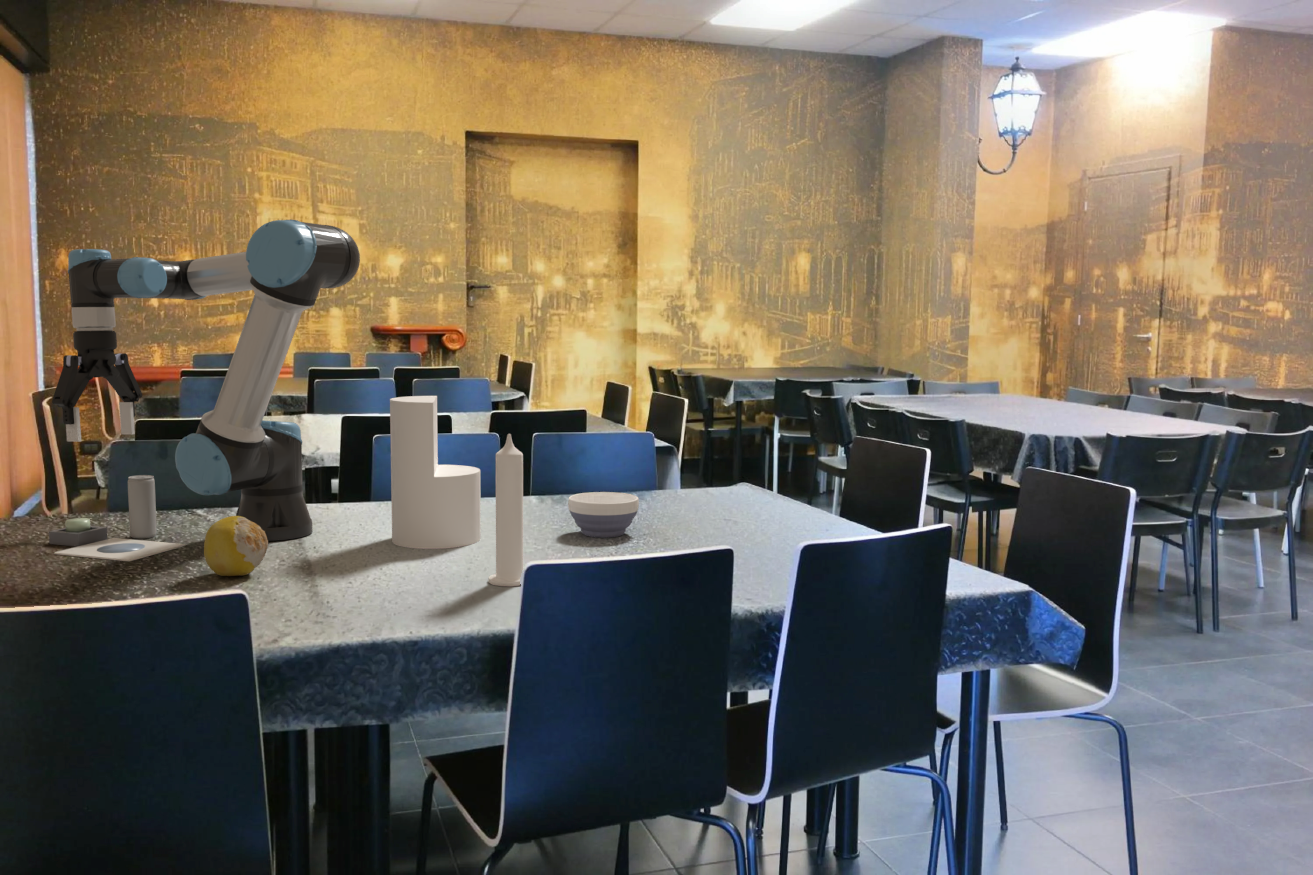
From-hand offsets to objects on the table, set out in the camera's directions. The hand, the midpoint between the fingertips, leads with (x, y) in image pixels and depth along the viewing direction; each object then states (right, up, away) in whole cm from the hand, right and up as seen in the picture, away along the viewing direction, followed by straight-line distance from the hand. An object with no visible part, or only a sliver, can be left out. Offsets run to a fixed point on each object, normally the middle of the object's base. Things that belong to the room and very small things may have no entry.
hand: (101, 437), depth 213 cm
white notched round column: (+66, -20, +1) cm, 69 cm away
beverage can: (+8, -20, +1) cm, 21 cm away
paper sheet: (+9, -21, -11) cm, 26 cm away
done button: (-2, -18, -5) cm, 19 cm away
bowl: (+99, -20, +9) cm, 101 cm away
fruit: (+38, -24, -30) cm, 54 cm away
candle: (+85, -24, -32) cm, 94 cm away
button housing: (-2, -20, -5) cm, 21 cm away
